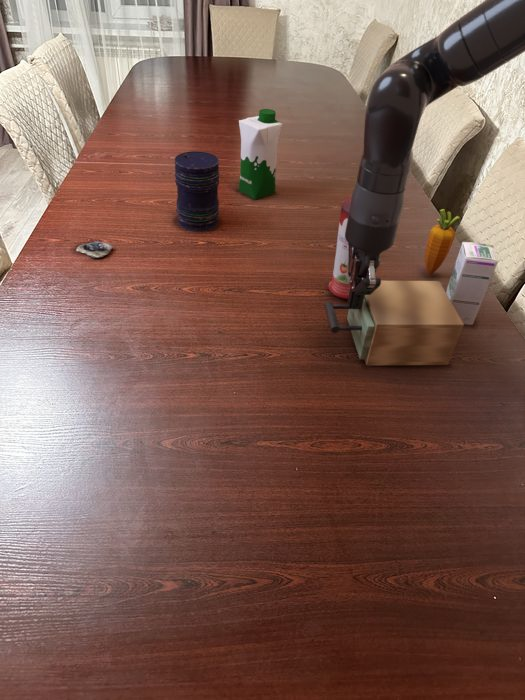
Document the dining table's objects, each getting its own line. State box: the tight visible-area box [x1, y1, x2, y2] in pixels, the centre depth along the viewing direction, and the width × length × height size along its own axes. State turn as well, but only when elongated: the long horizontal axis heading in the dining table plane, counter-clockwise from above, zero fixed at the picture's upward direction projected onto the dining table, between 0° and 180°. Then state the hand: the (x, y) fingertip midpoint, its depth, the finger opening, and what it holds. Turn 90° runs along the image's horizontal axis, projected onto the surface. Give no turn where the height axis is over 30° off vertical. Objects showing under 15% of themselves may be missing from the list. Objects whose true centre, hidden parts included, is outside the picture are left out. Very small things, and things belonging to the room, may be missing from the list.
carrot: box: [424, 208, 461, 276], centre depth 108 cm, size 5×5×15 cm
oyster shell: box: [75, 241, 114, 259], centre depth 111 cm, size 7×8×2 cm
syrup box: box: [445, 241, 499, 326], centre depth 97 cm, size 6×6×14 cm
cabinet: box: [364, 280, 465, 366], centre depth 92 cm, size 15×13×9 cm
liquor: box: [328, 196, 352, 301], centre depth 96 cm, size 7×7×28 cm
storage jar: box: [174, 150, 220, 232], centre depth 119 cm, size 10×10×15 cm
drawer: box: [323, 298, 375, 360], centre depth 92 cm, size 19×11×7 cm, turn 94°
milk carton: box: [237, 108, 283, 201], centre depth 132 cm, size 9×9×20 cm
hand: (354, 306), depth 89 cm, fingers closed
